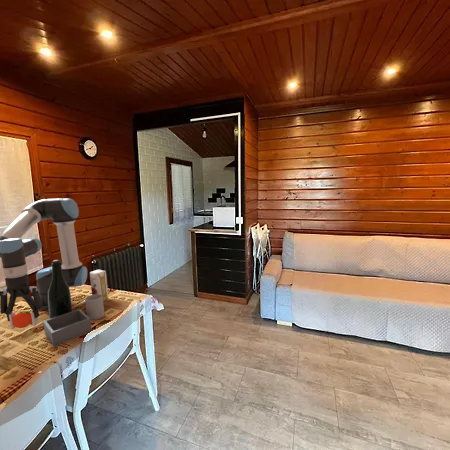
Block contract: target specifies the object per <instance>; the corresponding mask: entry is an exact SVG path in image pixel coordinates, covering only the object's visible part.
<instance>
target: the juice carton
mask: <svg viewBox="0 0 450 450" xmlns="http://www.w3.org/2000/svg"><path fill="white" fill-rule="evenodd" d="M89 280H90V281H89V282H90V288H91V295H95V294H101V295H102V297H103V303H105V301H109V287H108V279H107V271H106V270H102V269H96V270H95V269H94V270H93V271H90V272H89Z"/></svg>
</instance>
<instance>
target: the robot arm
mask: <svg viewBox="0 0 450 450" xmlns="http://www.w3.org/2000/svg"><path fill="white" fill-rule="evenodd" d="M79 213H80V210H79V206H78V203H77V202H76V201H75V200H74V199H72V198H65V197H64V198H47V199H45V198H43V199H40V200H37V201H34V202H32V203H30V204H29V205H27V206H26V207H24V209H22V210H21V212H20V215H19V216H18V217H16V218H15V219H14V220H13V221H12V222H11V223H10V224H9V225H7V226H6V227H5V228H4V229H3V230H2V231H0V259H1V263H2V271H3V275H4V282H5V286H6V288H3V289H1V290H0V314H1V315H3V314H5V315H6V320H7V321H8V322H10V323H9V324H10V328H11V329H10V330H14V329H16V327H15V326H14V325H13V323H12V320H13V317H14V316H15V315H16V311H14V308H15V304H16V300H17V298H22V299H23V300H25V302H26V303H27V305H28V307H29V308H30V309H31V311H32V312H30V313H31V317H32V322H31V323H32V327H36V326H37V325H38V324H39V319H38V318H39V317H40V313H39V311H49V307H48V290H49V287H50V284H51V281H52V266H49V267H46V268H42V269H40V270H38V271H37V272H36V274H35V276H36V278H35V280H36V286H31V284H30V280H29V274H28V267H27V262H26V258H27V257H30V256H32V255H36V254H38V252H40V251H41V250H42V246H43V245H42V241H41V240H40V239H38V238H37V237H27V238H25V239H24V238H23V239H22V237H23V236H24V235H25V234H26V233H27V232H28V231H29V230H30V229H31V228H32V227H33V226H34V225H35V224H38V223H40V222H41V221H45V220H52V223H53V224H54V225H56V231H57V237H58V238H57V239H58V243H59V250H60V255H61V263H62V273H63V277H64V279H65V281H66V283H67V284H68V286H69V288H73V287H74V288H77V287H82V286H83V285H84V284H85V283H86V281H87V278H88V268H87V267H86V266H83V262H81V261H80V259H79V253H78V252H79V251H78V247H77V245H78V244H77V239H76V231H75V225H74V223H75V222H76V219H77V218H78V217H79ZM8 294H9V295H10V296H9V299H8ZM8 300H9V301H8Z"/></svg>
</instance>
